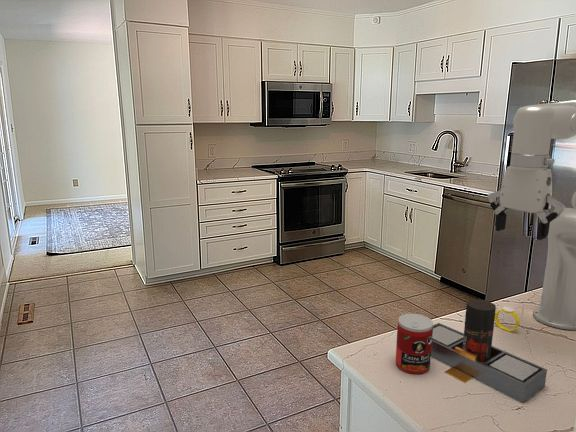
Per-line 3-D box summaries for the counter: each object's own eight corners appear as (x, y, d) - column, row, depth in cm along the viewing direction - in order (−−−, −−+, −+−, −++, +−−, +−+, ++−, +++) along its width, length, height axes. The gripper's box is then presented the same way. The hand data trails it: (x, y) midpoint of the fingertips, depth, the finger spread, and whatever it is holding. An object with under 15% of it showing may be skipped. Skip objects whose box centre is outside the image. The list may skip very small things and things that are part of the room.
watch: (518, 332, 117) (523, 312, 115) (513, 335, 115) (518, 315, 113) (496, 322, 121) (500, 303, 120) (491, 325, 120) (495, 306, 118)
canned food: (399, 375, 97) (402, 329, 95) (391, 355, 105) (394, 313, 103) (434, 375, 97) (438, 329, 95) (424, 355, 105) (427, 313, 103)
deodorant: (455, 361, 103) (460, 301, 99) (476, 356, 105) (482, 297, 101) (473, 374, 97) (479, 312, 94) (495, 370, 99) (502, 308, 96)
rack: (437, 336, 114) (438, 319, 113) (544, 386, 93) (547, 365, 92) (406, 351, 107) (407, 333, 106) (514, 409, 86) (517, 386, 85)
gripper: (577, 164, 96) (566, 239, 100) (500, 158, 110) (493, 224, 113) (562, 166, 92) (551, 245, 95) (484, 159, 105) (477, 229, 109)
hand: (520, 234), depth 104 cm, fingers open, 9 cm apart
